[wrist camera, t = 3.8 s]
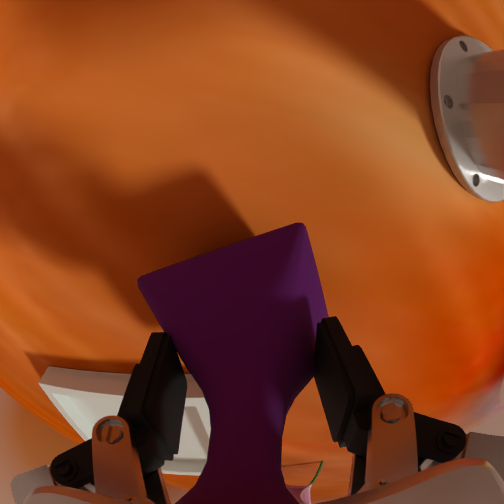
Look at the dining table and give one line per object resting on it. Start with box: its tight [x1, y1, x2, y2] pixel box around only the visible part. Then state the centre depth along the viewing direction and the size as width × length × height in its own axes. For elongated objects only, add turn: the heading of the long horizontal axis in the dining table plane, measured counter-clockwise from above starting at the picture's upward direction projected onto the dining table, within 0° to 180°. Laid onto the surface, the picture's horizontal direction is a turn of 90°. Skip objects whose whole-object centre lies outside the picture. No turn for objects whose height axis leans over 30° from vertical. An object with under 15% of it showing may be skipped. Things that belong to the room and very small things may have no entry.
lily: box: [285, 461, 324, 504], centre depth 23 cm, size 12×12×10 cm
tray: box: [39, 366, 211, 475], centre depth 19 cm, size 15×15×2 cm
